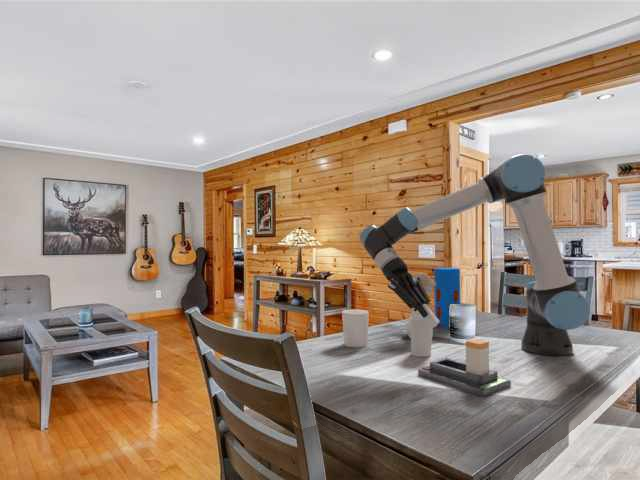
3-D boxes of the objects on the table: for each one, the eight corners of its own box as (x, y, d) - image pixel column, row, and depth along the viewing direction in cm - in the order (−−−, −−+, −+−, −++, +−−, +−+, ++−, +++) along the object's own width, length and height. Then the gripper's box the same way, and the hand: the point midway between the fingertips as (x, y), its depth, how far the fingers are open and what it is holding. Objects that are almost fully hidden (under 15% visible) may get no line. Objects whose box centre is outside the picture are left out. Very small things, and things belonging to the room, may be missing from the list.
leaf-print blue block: (447, 329, 170) (446, 269, 170) (429, 324, 180) (428, 268, 180) (466, 326, 175) (465, 268, 175) (447, 321, 185) (447, 267, 185)
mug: (423, 358, 128) (423, 320, 128) (406, 354, 133) (405, 318, 133) (441, 352, 134) (440, 316, 134) (424, 349, 139) (423, 314, 139)
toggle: (466, 377, 105) (465, 341, 105) (475, 374, 107) (474, 338, 107) (480, 381, 101) (479, 344, 101) (489, 378, 104) (488, 341, 104)
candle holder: (338, 346, 144) (338, 313, 144) (347, 340, 153) (346, 308, 153) (365, 349, 140) (364, 314, 140) (372, 342, 149) (371, 310, 149)
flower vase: (440, 333, 162) (439, 271, 162) (424, 343, 146) (423, 274, 146) (409, 330, 169) (408, 270, 169) (390, 339, 154) (390, 273, 154)
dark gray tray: (418, 374, 112) (418, 362, 112) (445, 366, 119) (445, 354, 119) (483, 396, 96) (483, 382, 96) (510, 385, 103) (510, 372, 103)
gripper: (382, 257, 123) (427, 319, 109) (411, 255, 131) (457, 313, 117) (370, 274, 127) (413, 336, 114) (399, 271, 135) (442, 329, 121)
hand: (435, 324), depth 115 cm, fingers closed
